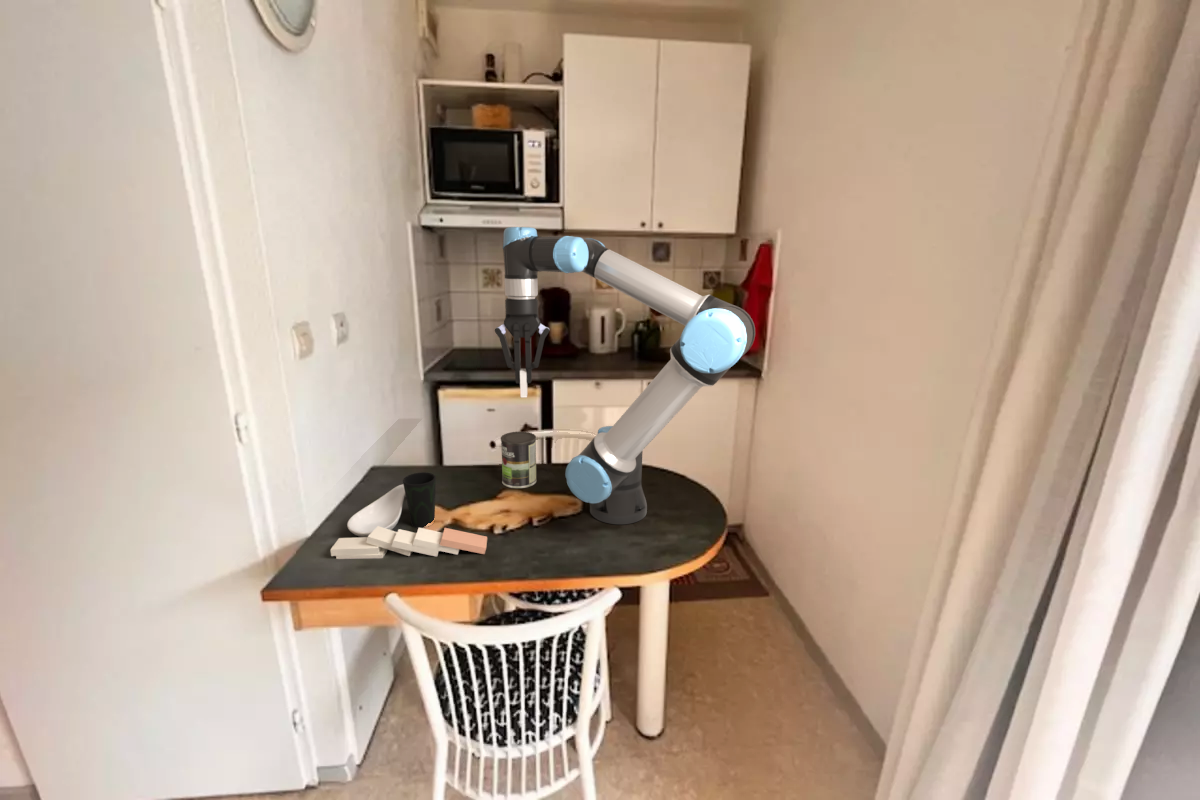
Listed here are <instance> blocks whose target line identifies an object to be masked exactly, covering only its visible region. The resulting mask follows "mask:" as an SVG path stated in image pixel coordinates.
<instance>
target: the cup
mask: <svg viewBox="0 0 1200 800" xmlns="http://www.w3.org/2000/svg"><path fill="white" fill-rule="evenodd" d="M436 479H437V478H436V475H435V474H433V473H431V472H422V471H421V472H417V473H416V472H415V473H411V474H409V475H407V476H405V477H404V478H403V479H402V483H403V484H404V489H405V498H406V503H407V508H408V513H409V520H410V523H411V526H412V527H414V528H423V527H424V526H426V525H427V524H428V523H431V522H432V521H433V520H434V518H435V516H436V515H435V513H436V487H437V486H436V485H437V484H436V482H437V480H436ZM435 519H436V518H435ZM424 528H425V527H424Z"/></svg>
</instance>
